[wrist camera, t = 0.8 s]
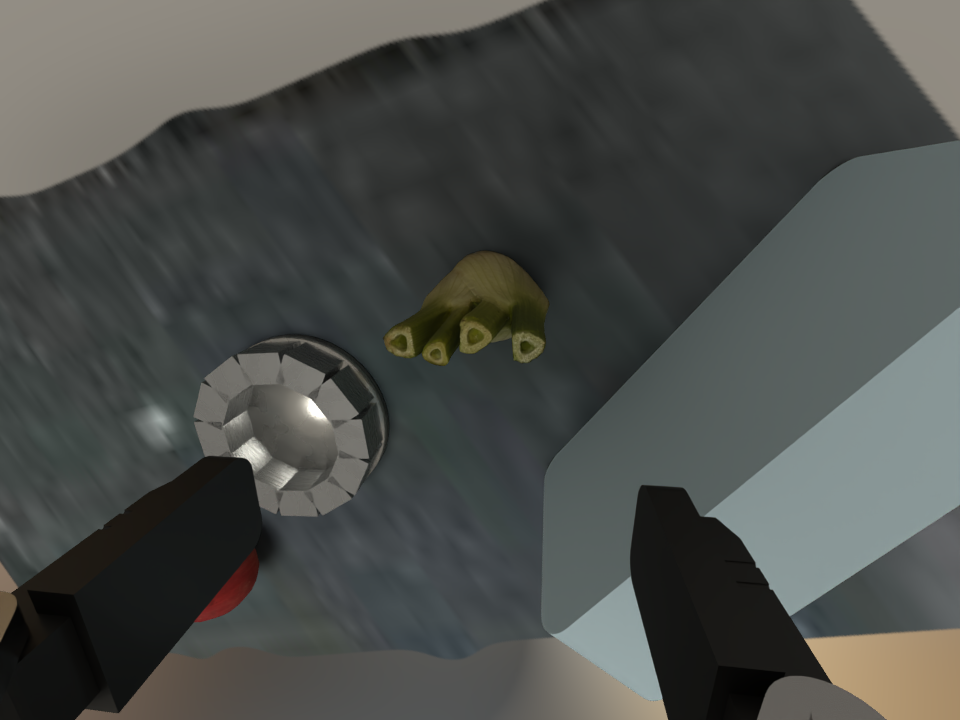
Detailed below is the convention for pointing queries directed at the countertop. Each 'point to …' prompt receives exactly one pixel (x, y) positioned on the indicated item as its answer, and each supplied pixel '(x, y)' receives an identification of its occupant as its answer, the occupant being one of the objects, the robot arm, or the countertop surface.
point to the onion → (233, 589)
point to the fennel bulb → (475, 313)
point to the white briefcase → (781, 408)
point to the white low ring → (295, 422)
